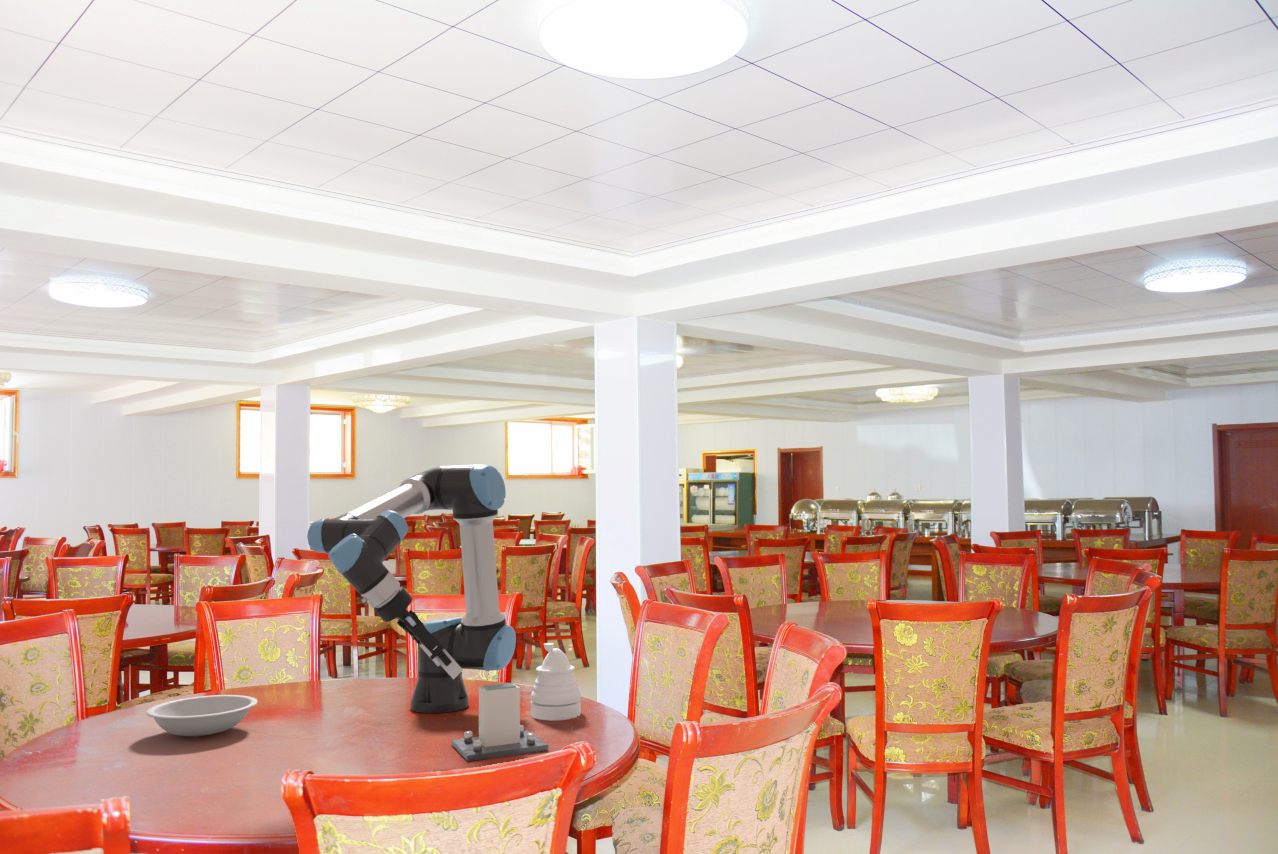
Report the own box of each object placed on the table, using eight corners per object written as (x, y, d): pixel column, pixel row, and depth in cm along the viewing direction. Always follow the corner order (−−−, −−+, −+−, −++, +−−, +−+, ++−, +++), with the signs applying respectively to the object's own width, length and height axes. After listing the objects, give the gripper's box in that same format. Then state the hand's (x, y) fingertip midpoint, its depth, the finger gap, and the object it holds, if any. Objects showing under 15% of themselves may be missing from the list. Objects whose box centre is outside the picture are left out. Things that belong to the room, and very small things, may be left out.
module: (478, 741, 198) (478, 685, 199) (513, 737, 201) (513, 682, 202) (484, 747, 193) (485, 689, 194) (520, 742, 197) (520, 686, 198)
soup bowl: (278, 726, 218) (279, 699, 219) (193, 752, 196) (194, 721, 197) (210, 717, 228) (211, 691, 229) (121, 740, 207) (122, 711, 207)
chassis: (451, 745, 200) (451, 730, 200) (528, 735, 207) (528, 721, 208) (467, 761, 187) (467, 745, 187) (548, 750, 195) (548, 735, 195)
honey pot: (541, 722, 220) (541, 648, 221) (523, 712, 231) (523, 641, 232) (589, 716, 226) (588, 644, 227) (569, 706, 237) (569, 638, 238)
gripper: (363, 601, 200) (423, 668, 205) (384, 618, 177) (451, 693, 183) (390, 578, 202) (448, 645, 208) (413, 592, 180) (478, 666, 185)
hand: (450, 668), depth 195 cm, fingers open, 13 cm apart
